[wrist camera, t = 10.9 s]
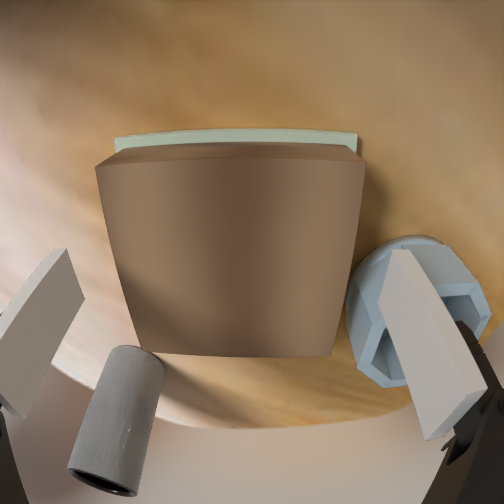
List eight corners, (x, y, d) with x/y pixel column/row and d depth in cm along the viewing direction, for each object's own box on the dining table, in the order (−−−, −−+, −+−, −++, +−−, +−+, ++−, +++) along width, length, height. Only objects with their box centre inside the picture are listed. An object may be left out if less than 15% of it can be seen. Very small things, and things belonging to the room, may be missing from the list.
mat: (152, 313, 19) (149, 320, 19) (119, 136, 14) (113, 138, 13) (328, 316, 19) (330, 323, 18) (353, 132, 13) (357, 135, 13)
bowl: (335, 336, 20) (346, 392, 16) (355, 233, 16) (382, 285, 12) (433, 329, 20) (455, 376, 16) (468, 236, 16) (508, 279, 12)
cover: (155, 314, 18) (142, 351, 16) (124, 148, 13) (94, 166, 11) (323, 317, 18) (330, 356, 16) (345, 145, 13) (366, 163, 10)
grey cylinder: (111, 372, 23) (75, 481, 14) (108, 337, 21) (58, 461, 12) (164, 387, 24) (138, 501, 15) (167, 354, 21) (134, 487, 12)
